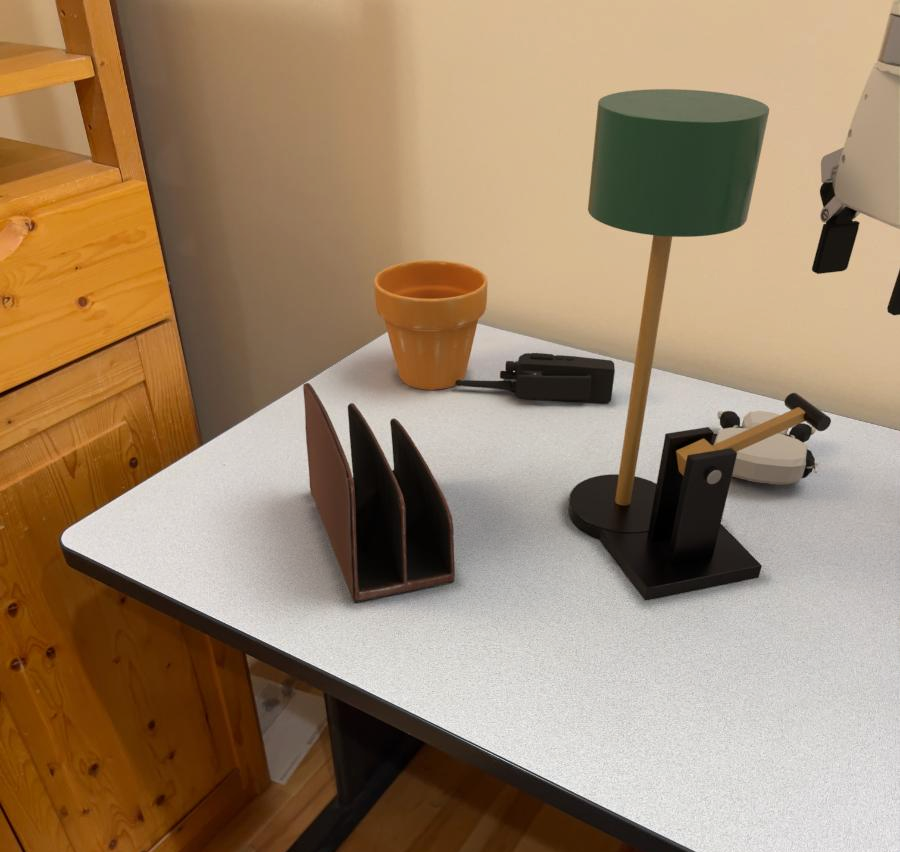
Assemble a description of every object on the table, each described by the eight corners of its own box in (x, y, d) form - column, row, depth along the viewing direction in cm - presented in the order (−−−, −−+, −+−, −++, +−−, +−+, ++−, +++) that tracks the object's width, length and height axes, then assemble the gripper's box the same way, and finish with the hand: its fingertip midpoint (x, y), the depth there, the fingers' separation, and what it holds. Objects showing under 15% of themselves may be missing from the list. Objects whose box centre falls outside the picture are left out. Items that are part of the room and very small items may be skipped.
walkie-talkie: (616, 348, 109) (455, 341, 110) (613, 397, 108) (451, 389, 110) (611, 367, 115) (458, 359, 116) (608, 413, 114) (455, 405, 116)
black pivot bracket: (705, 521, 91) (730, 409, 83) (758, 578, 84) (792, 460, 76) (599, 541, 88) (614, 426, 80) (645, 601, 81) (667, 481, 73)
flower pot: (427, 410, 110) (425, 308, 102) (357, 374, 118) (350, 277, 110) (506, 377, 118) (511, 280, 109) (436, 345, 126) (435, 252, 118)
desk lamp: (668, 480, 98) (740, 88, 74) (698, 549, 87) (793, 121, 63) (551, 482, 97) (585, 89, 73) (567, 552, 87) (614, 122, 63)
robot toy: (709, 431, 108) (691, 483, 96) (717, 396, 105) (699, 445, 94) (814, 450, 105) (808, 506, 93) (824, 414, 102) (819, 467, 90)
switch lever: (798, 407, 82) (797, 385, 81) (831, 432, 79) (831, 409, 77) (671, 463, 82) (668, 443, 80) (698, 491, 78) (695, 470, 77)
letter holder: (352, 604, 81) (341, 471, 72) (310, 494, 95) (296, 371, 86) (456, 583, 83) (457, 451, 74) (399, 479, 98) (394, 358, 89)
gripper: (1082, 64, 56) (980, 325, 67) (900, 30, 69) (838, 254, 80) (987, 69, 55) (897, 336, 65) (817, 33, 67) (766, 261, 78)
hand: (865, 290), depth 73 cm, fingers open, 9 cm apart
